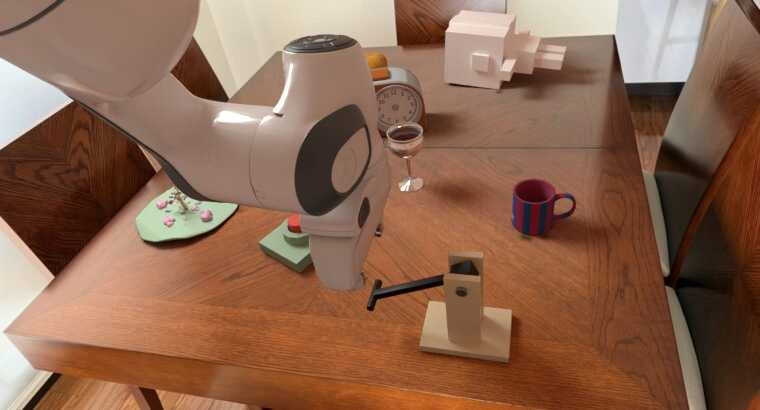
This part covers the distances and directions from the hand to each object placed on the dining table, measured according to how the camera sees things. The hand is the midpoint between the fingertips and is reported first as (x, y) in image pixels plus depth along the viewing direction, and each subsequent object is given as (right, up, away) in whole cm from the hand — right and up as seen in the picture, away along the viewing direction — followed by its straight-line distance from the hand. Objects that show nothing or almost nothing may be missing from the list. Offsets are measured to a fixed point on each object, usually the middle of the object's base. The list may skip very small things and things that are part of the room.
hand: (368, 258), depth 66 cm
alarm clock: (+5, +25, +51) cm, 57 cm away
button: (-12, +3, +22) cm, 26 cm away
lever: (+8, -4, +1) cm, 9 cm away
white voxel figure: (+33, +40, +63) cm, 81 cm away
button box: (-12, 0, +24) cm, 27 cm away
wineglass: (+8, +11, +33) cm, 36 cm away
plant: (-37, +7, +38) cm, 53 cm away
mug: (+29, +4, +20) cm, 35 cm away
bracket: (+14, -11, +5) cm, 18 cm away
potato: (-3, +41, +72) cm, 83 cm away
